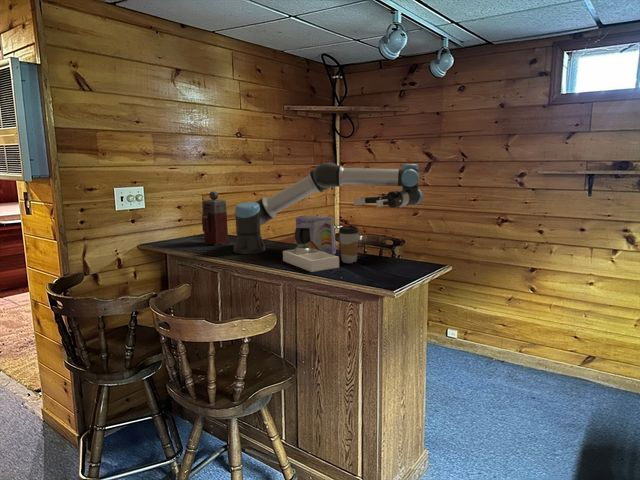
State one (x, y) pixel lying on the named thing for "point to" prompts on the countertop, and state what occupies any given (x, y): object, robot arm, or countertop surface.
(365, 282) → the countertop surface
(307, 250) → the metal tin
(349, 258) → the coffee cup
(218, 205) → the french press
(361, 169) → the robot arm
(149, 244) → the countertop surface
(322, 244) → the cake pan box
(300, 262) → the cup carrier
